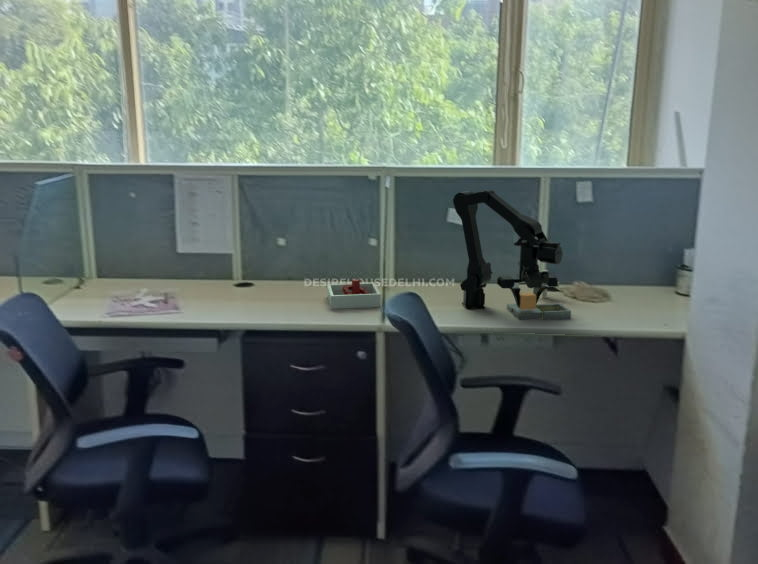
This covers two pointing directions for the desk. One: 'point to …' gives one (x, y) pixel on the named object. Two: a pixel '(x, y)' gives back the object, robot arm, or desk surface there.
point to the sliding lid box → (543, 312)
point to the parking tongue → (511, 307)
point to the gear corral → (353, 297)
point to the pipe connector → (544, 293)
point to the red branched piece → (354, 288)
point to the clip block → (527, 300)
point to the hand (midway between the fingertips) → (526, 306)
